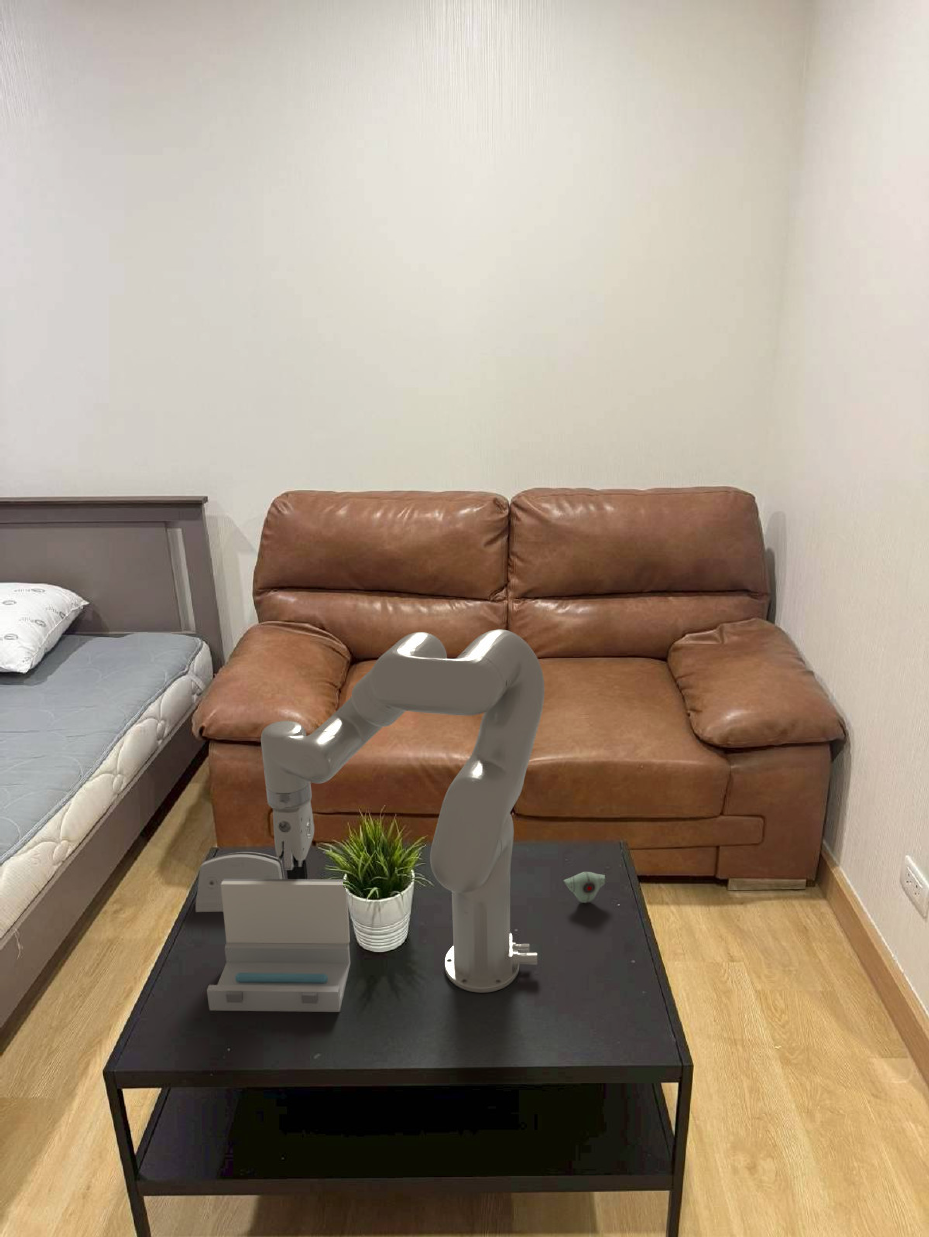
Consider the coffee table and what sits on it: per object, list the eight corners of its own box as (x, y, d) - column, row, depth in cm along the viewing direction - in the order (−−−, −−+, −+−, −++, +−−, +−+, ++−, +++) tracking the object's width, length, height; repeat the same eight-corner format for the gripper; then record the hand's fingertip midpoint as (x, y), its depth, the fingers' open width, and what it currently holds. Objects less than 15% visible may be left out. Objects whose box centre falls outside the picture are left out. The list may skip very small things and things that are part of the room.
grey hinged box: (350, 963, 153) (349, 944, 152) (338, 1015, 142) (337, 995, 141) (229, 962, 154) (226, 943, 153) (208, 1014, 143) (205, 994, 141)
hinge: (193, 911, 167) (192, 858, 167) (201, 903, 171) (200, 851, 171) (283, 910, 167) (282, 856, 167) (288, 902, 171) (287, 850, 171)
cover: (348, 943, 152) (350, 937, 153) (345, 884, 149) (347, 879, 150) (226, 942, 152) (229, 936, 154) (220, 884, 150) (223, 878, 151)
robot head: (602, 893, 169) (603, 863, 167) (609, 907, 166) (611, 876, 163) (561, 898, 168) (562, 868, 166) (567, 912, 164) (568, 882, 162)
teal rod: (328, 978, 148) (328, 971, 148) (327, 984, 147) (326, 977, 146) (236, 977, 149) (236, 970, 148) (234, 983, 148) (233, 976, 147)
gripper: (301, 815, 147) (310, 908, 153) (318, 769, 161) (326, 856, 167) (256, 815, 147) (266, 908, 153) (277, 769, 161) (286, 856, 167)
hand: (297, 881), depth 160 cm, fingers closed
